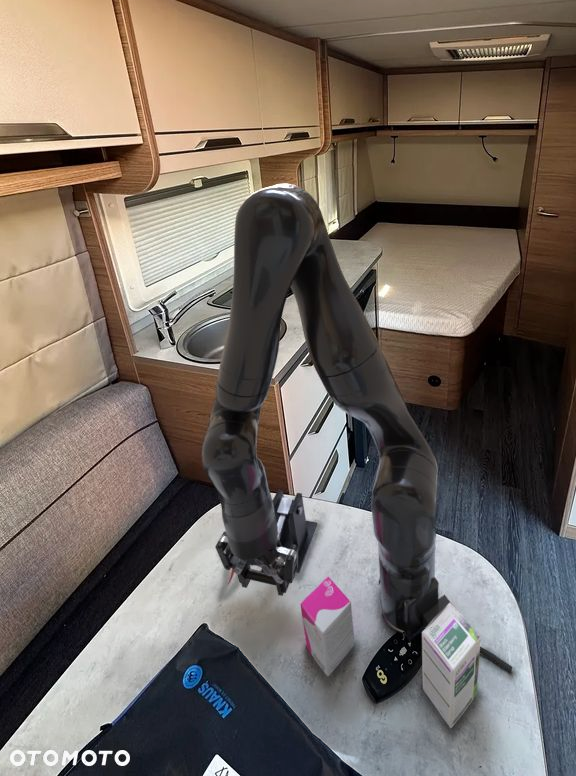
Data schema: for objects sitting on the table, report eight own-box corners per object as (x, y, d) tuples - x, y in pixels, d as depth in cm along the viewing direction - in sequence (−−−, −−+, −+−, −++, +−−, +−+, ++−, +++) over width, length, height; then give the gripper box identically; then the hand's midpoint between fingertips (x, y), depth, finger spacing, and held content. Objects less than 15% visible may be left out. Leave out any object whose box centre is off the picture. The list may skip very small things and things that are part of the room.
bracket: (299, 576, 74) (291, 529, 70) (265, 569, 76) (255, 522, 71) (317, 526, 84) (312, 481, 79) (287, 520, 85) (279, 476, 80)
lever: (279, 588, 67) (275, 584, 66) (247, 580, 68) (243, 576, 67) (304, 505, 77) (302, 500, 75) (276, 500, 78) (273, 495, 77)
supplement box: (356, 646, 64) (352, 602, 60) (328, 681, 60) (321, 636, 56) (333, 617, 68) (328, 574, 64) (305, 648, 64) (297, 604, 60)
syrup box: (451, 731, 55) (454, 673, 50) (420, 688, 59) (421, 630, 54) (476, 695, 58) (483, 637, 53) (446, 657, 63) (449, 599, 57)
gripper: (301, 503, 64) (312, 571, 70) (222, 489, 67) (238, 556, 73) (282, 549, 57) (295, 620, 63) (194, 532, 60) (215, 601, 66)
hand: (265, 585), depth 68 cm, fingers closed on lever, 6 cm apart
